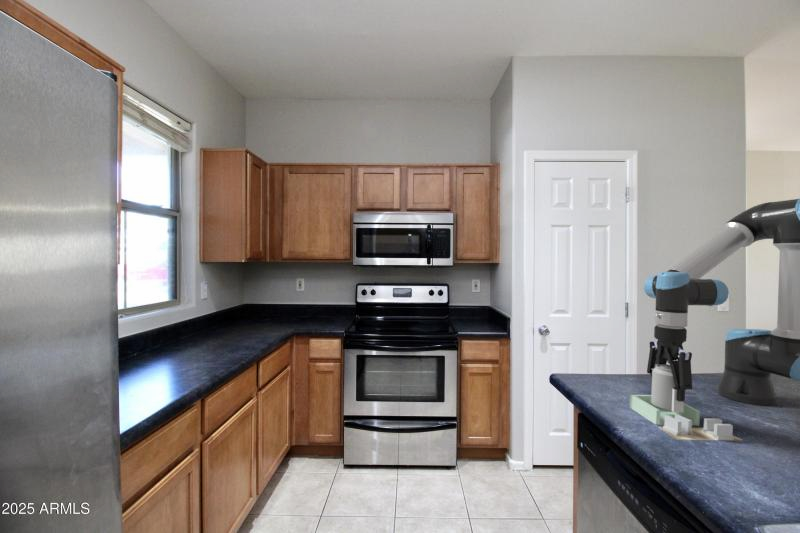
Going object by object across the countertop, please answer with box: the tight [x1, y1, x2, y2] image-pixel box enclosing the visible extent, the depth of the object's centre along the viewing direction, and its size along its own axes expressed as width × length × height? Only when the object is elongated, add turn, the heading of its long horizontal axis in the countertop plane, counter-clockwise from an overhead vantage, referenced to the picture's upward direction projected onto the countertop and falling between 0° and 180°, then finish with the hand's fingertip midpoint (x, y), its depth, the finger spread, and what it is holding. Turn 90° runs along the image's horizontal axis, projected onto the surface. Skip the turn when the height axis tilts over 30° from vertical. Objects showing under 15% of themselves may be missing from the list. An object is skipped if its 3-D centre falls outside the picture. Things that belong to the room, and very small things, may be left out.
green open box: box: [629, 394, 701, 426], centre depth 112 cm, size 12×12×4 cm
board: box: [657, 426, 744, 442], centre depth 102 cm, size 17×7×1 cm, turn 91°
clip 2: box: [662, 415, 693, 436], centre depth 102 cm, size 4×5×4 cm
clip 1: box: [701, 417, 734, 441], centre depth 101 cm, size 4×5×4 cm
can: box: [650, 363, 680, 412], centre depth 111 cm, size 8×8×12 cm
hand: (666, 405), depth 111 cm, fingers closed on can, 7 cm apart
